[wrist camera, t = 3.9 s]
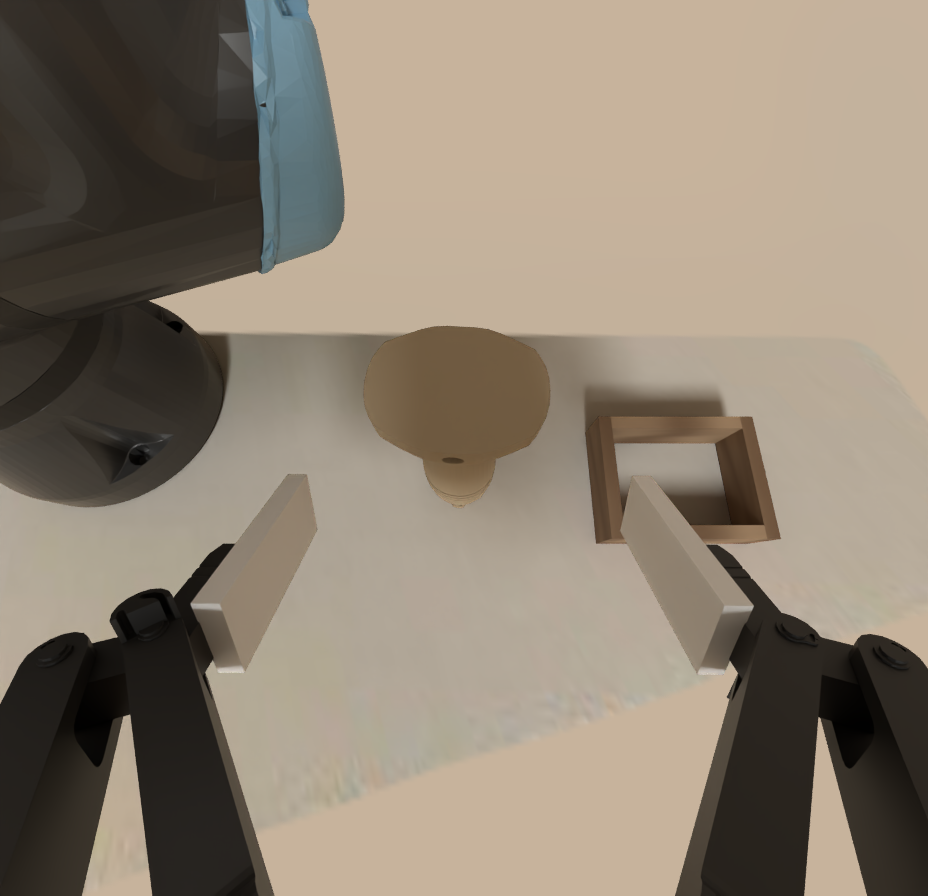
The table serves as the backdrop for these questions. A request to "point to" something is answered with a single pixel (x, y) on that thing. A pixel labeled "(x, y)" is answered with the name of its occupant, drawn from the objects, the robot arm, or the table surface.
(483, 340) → the handle
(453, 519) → the table surface
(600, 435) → the socket block
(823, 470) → the table surface
